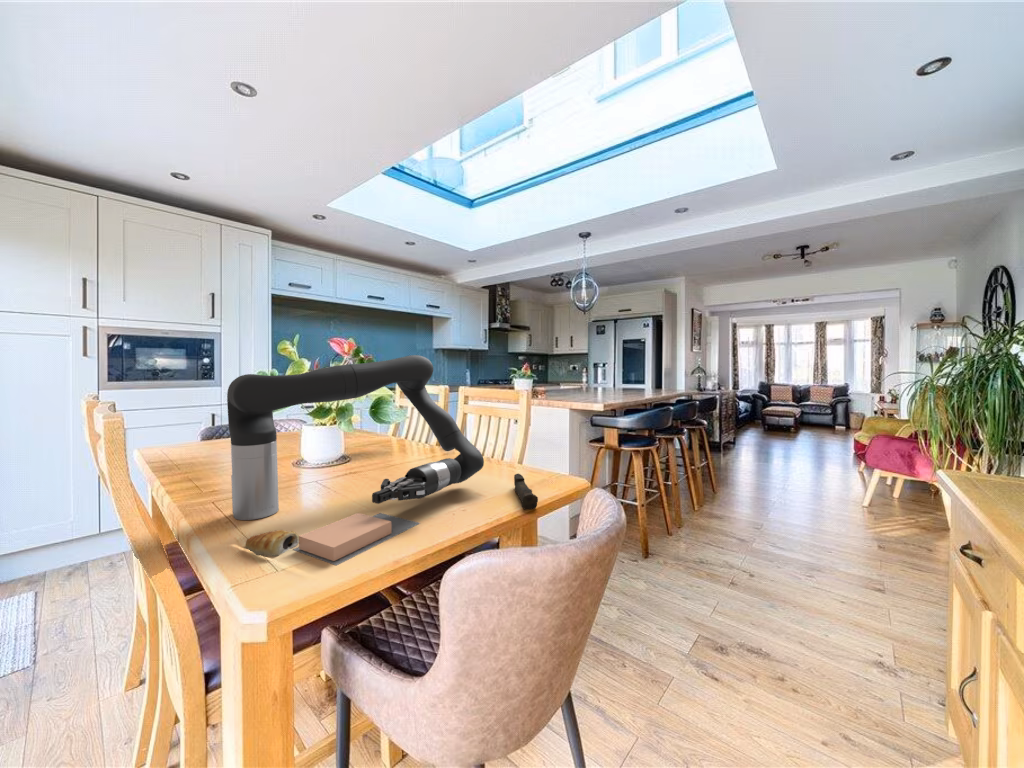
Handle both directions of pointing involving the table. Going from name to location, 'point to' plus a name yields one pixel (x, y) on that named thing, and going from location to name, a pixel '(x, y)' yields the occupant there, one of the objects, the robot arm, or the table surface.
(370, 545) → the mat
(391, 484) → the robot arm
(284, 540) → the pastry
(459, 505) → the table surface
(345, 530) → the tile
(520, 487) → the hand tool
